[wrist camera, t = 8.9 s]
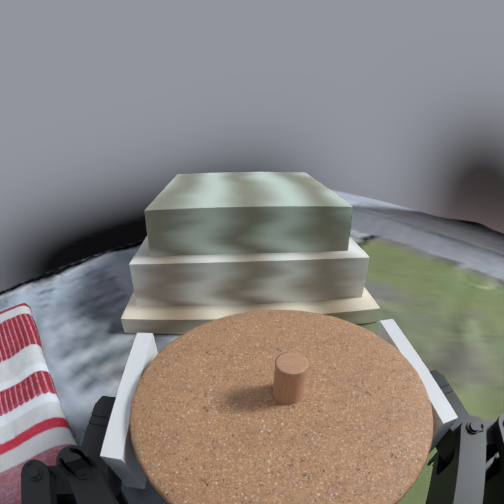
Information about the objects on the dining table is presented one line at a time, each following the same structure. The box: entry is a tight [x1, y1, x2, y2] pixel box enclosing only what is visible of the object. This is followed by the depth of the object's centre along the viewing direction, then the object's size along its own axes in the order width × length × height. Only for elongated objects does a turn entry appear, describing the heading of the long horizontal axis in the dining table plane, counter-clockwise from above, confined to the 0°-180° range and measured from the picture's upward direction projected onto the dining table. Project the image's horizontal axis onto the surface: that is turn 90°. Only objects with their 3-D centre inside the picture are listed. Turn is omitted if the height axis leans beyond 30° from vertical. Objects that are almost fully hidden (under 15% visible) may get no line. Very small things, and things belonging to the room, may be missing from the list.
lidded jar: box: [129, 310, 433, 504], centre depth 11 cm, size 11×11×9 cm
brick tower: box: [121, 172, 380, 334], centre depth 33 cm, size 22×24×10 cm
